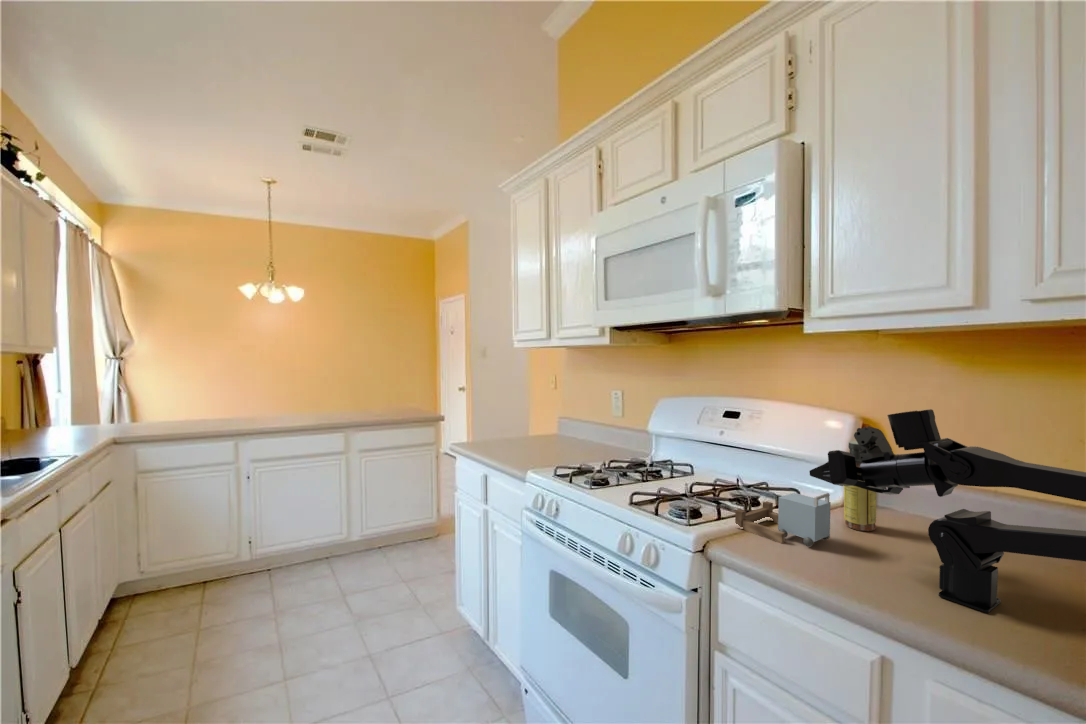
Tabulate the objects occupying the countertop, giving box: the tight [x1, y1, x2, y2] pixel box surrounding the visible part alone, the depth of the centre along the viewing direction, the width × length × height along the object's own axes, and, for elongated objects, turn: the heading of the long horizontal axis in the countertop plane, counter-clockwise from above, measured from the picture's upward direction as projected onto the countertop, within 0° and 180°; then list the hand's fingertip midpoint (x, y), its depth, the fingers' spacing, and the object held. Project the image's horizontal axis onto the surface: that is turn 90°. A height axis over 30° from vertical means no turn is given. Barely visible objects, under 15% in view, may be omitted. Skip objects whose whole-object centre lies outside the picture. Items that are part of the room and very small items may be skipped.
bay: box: [734, 501, 786, 544], centre depth 114 cm, size 11×12×4 cm
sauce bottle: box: [843, 440, 877, 532], centre depth 115 cm, size 7×6×20 cm
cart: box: [777, 492, 832, 548], centre depth 108 cm, size 8×7×10 cm
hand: (824, 476), depth 104 cm, fingers open, 9 cm apart
